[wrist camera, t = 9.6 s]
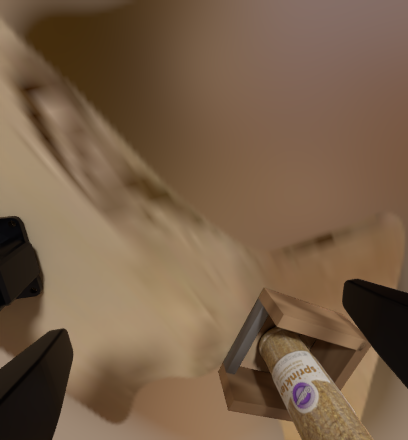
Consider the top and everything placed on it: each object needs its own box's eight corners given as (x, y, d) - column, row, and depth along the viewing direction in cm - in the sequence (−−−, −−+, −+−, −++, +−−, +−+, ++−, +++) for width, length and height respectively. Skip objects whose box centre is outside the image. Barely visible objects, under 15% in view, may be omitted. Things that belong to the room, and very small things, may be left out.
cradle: (218, 371, 26) (228, 410, 22) (264, 287, 24) (283, 314, 20) (295, 388, 28) (316, 425, 24) (342, 314, 26) (373, 342, 22)
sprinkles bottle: (273, 317, 25) (393, 495, 12) (305, 333, 26) (443, 508, 13) (248, 351, 26) (336, 554, 13) (280, 365, 27) (390, 561, 14)
